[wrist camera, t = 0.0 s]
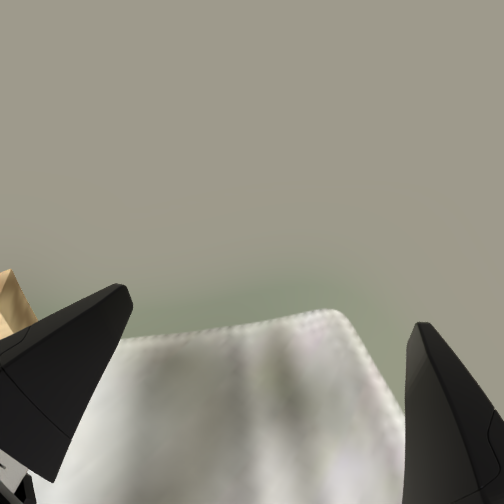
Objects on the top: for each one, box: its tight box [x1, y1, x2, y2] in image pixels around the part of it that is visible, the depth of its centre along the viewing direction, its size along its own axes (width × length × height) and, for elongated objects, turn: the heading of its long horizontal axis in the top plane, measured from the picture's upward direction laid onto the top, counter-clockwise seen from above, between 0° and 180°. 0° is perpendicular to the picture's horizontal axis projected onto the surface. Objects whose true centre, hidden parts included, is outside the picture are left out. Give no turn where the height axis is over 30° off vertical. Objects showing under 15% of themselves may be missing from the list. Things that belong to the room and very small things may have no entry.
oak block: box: [0, 269, 38, 340], centre depth 19 cm, size 5×5×13 cm
